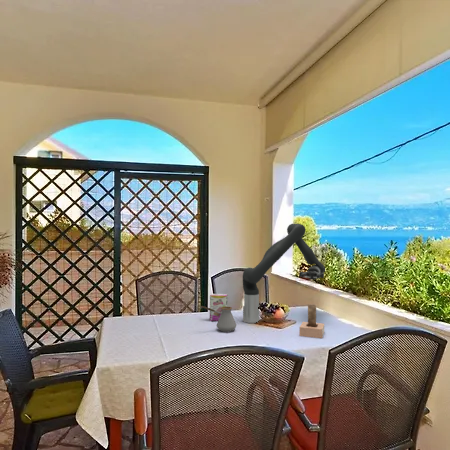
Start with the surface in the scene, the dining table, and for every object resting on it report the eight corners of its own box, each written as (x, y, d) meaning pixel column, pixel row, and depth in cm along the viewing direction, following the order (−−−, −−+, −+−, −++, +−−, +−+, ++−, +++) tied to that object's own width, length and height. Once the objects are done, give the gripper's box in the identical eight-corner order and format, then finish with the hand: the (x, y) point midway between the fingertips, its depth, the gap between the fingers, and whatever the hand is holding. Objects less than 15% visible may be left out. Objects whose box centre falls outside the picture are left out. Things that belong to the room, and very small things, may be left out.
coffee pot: (232, 326, 223) (232, 301, 222) (239, 331, 212) (239, 305, 212) (197, 329, 216) (197, 303, 216) (202, 335, 205) (202, 308, 205)
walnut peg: (307, 333, 206) (307, 306, 206) (308, 331, 210) (308, 304, 210) (315, 334, 205) (315, 306, 205) (316, 331, 209) (316, 304, 209)
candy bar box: (209, 321, 234) (209, 295, 234) (210, 319, 239) (210, 293, 239) (227, 321, 233) (227, 295, 233) (227, 319, 238) (227, 293, 238)
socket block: (299, 335, 204) (299, 327, 204) (302, 330, 215) (302, 321, 215) (322, 338, 200) (322, 329, 200) (324, 332, 211) (324, 323, 211)
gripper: (302, 266, 239) (298, 269, 223) (325, 267, 234) (322, 270, 218) (302, 278, 239) (298, 282, 223) (325, 279, 234) (322, 283, 218)
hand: (310, 276), depth 221 cm, fingers open, 8 cm apart
